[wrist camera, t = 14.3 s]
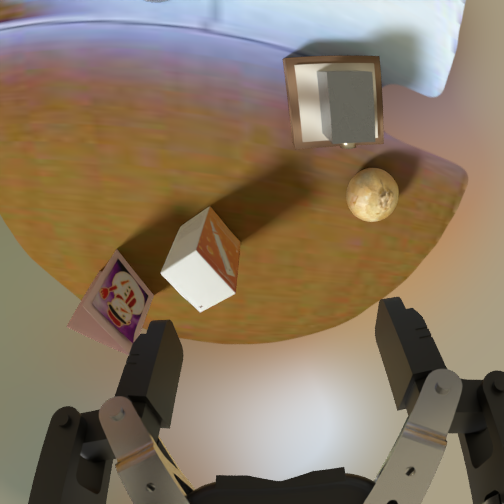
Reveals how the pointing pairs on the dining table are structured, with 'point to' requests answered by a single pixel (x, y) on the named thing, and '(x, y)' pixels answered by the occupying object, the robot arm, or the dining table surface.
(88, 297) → the greeting card
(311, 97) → the stand
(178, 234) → the small box
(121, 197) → the dining table surface
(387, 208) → the onion
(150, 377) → the robot arm
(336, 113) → the block
